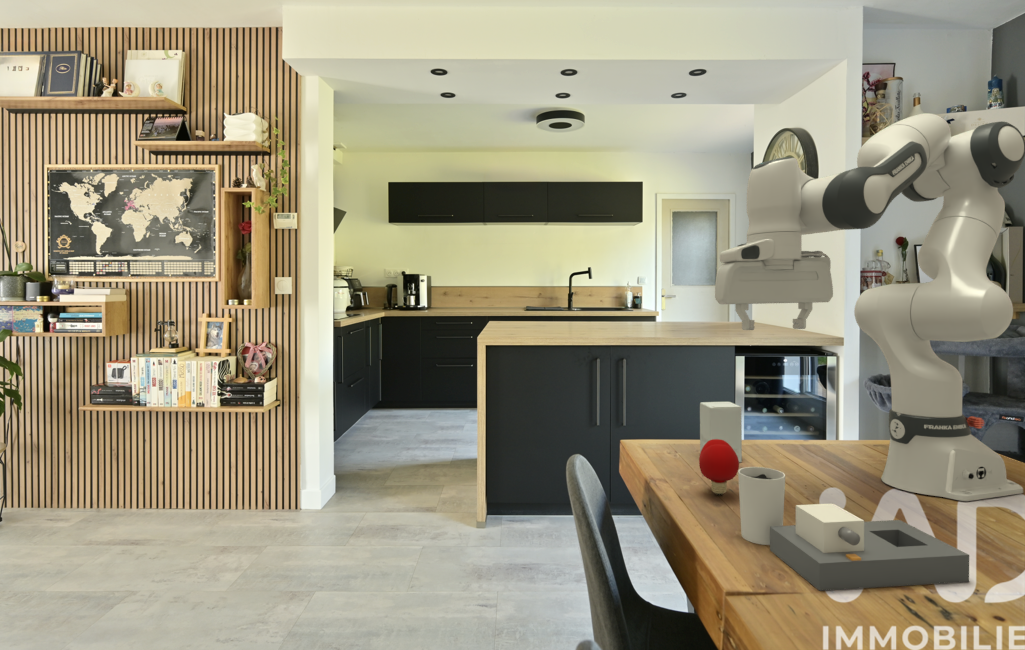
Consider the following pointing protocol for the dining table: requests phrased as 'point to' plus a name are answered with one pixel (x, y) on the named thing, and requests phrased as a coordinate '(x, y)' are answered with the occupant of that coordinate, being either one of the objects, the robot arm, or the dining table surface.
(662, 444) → the dining table surface
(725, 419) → the supplement box
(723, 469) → the red rounded egg-shaped part
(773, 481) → the beige cup
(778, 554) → the double socket
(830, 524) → the plug
